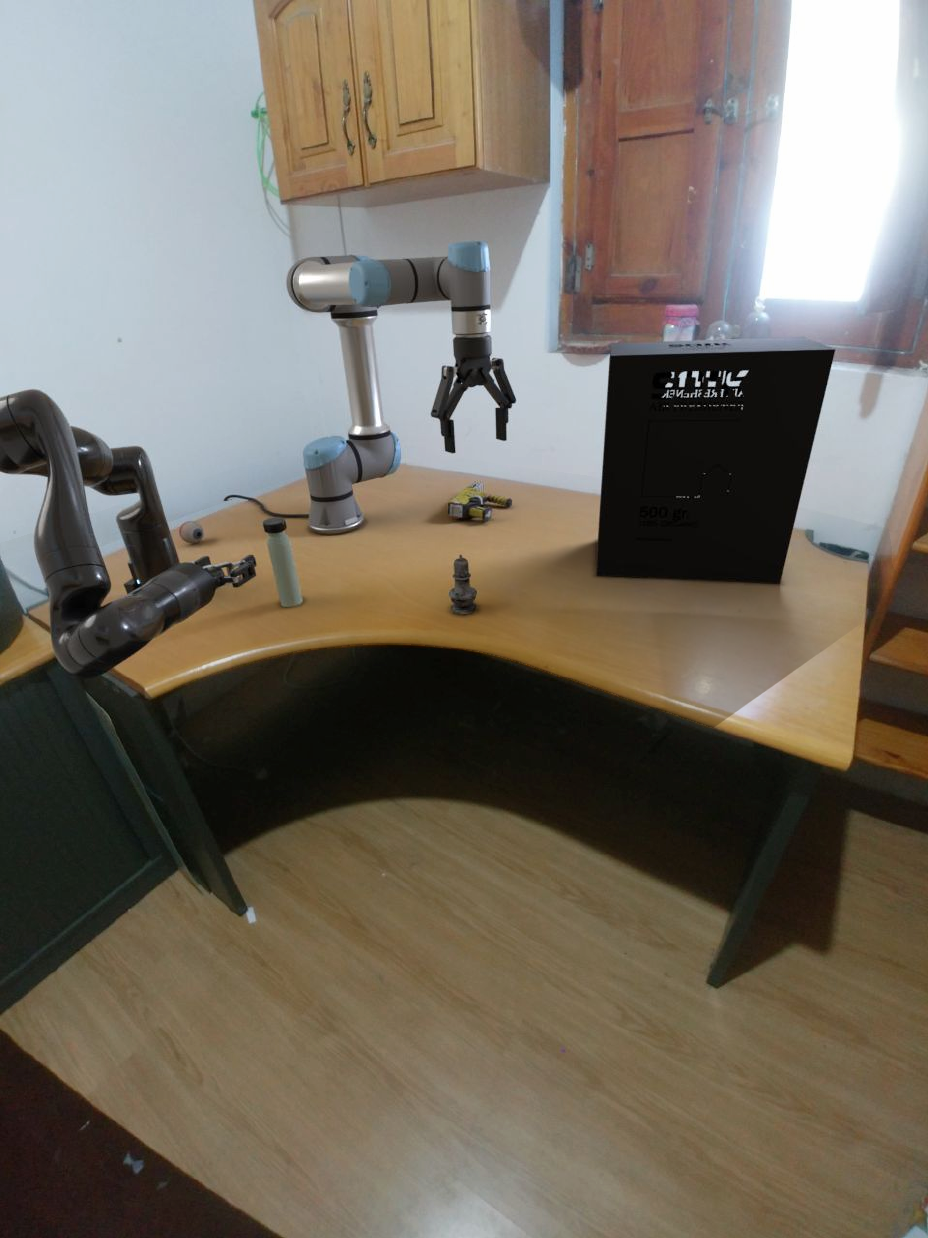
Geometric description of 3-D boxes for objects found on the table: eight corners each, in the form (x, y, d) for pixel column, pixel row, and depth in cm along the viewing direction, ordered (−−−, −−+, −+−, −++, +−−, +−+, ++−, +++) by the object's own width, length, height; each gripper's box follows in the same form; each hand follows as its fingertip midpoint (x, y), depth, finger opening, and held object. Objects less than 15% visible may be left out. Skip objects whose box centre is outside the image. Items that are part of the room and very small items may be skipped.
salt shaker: (475, 615, 121) (472, 561, 115) (446, 614, 122) (442, 560, 116) (480, 601, 126) (478, 548, 120) (452, 600, 127) (449, 547, 121)
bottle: (306, 598, 132) (290, 519, 123) (296, 608, 128) (278, 527, 119) (287, 596, 133) (270, 517, 124) (277, 606, 129) (258, 526, 120)
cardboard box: (759, 545, 143) (803, 336, 120) (780, 583, 126) (835, 349, 103) (597, 539, 151) (610, 343, 128) (596, 575, 134) (610, 355, 111)
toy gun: (520, 486, 181) (473, 479, 185) (498, 510, 161) (445, 501, 165) (519, 501, 183) (472, 494, 187) (496, 526, 163) (445, 518, 167)
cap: (291, 526, 123) (289, 517, 122) (279, 534, 120) (277, 525, 119) (271, 524, 124) (269, 516, 123) (260, 533, 121) (258, 524, 120)
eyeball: (192, 548, 159) (186, 527, 156) (178, 544, 162) (171, 523, 159) (211, 540, 164) (205, 519, 161) (197, 537, 167) (190, 516, 164)
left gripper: (213, 569, 88) (263, 538, 103) (127, 572, 91) (188, 541, 105) (225, 616, 91) (272, 579, 106) (141, 617, 94) (199, 581, 108)
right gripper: (429, 342, 108) (437, 460, 118) (533, 329, 120) (532, 437, 131) (407, 340, 113) (417, 454, 124) (508, 328, 125) (510, 432, 136)
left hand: (230, 560), depth 106 cm, fingers open, 8 cm apart
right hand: (476, 445), depth 127 cm, fingers open, 13 cm apart
